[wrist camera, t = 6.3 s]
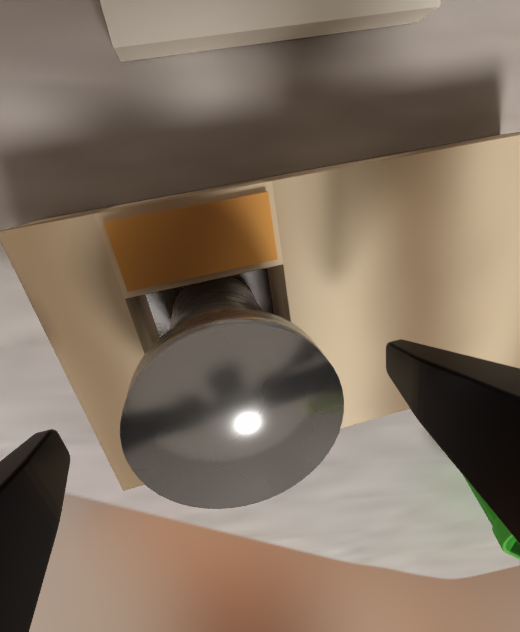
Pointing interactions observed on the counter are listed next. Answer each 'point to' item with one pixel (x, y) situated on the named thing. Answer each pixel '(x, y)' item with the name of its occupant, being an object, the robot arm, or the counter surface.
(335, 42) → the counter surface
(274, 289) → the rail plate
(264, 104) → the counter surface
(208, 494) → the peg
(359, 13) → the tab
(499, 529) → the fruit basket
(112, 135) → the counter surface
